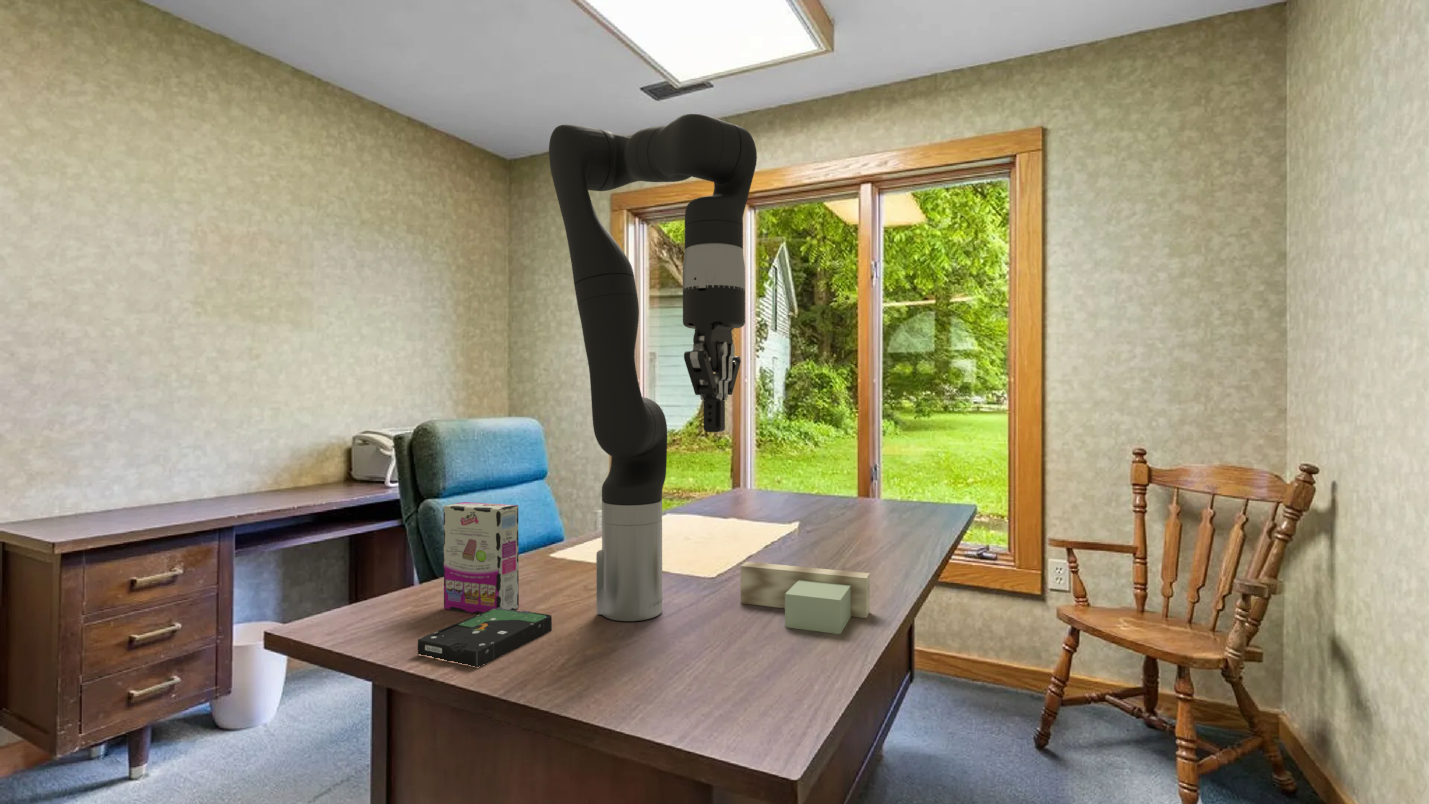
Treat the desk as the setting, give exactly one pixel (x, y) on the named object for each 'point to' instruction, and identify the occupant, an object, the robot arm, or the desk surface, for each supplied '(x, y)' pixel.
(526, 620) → the disk drive
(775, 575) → the stop board
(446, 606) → the candy bar box
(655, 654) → the desk surface
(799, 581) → the sage block
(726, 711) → the desk surface
